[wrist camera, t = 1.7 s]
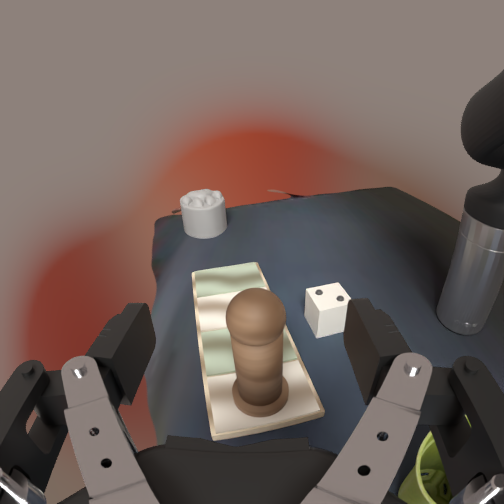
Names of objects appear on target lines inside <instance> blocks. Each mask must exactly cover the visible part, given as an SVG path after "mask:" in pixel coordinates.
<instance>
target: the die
mask: <svg viewBox="0 0 504 504" xmlns="http://www.w3.org/2000/svg"><path fill="white" fill-rule="evenodd" d="M350 299H351V298H350V297H349V296H348V294H347V293H346V292H345V291H344V289H343V288H342V287H341V285H340V284H339V283H333V284H328V285H323V286H318V287H313V288H308V289H306V297H305V313H304V316H305V318H306V320H307V322H308V323H309V325H310V327H311V329H312V331H313V333H314V335H315V336H316V338H320V337H324V336H328V335H332V334H336V333H340V332H343V331H344V327H345V320H346V313H347V305H348V301H349V300H350Z"/></svg>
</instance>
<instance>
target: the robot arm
mask: <svg viewBox="0 0 504 504" xmlns="http://www.w3.org/2000/svg"><path fill="white" fill-rule="evenodd" d="M461 138H462V142H463V145H464V148H465V150H466V151H467V153H468V154H469V155H470V157H472V159H474V160H476V161H477V162H479V163H481V164H484V165H488V166H491V167H496V168H499V169H501V172H500V174H499V176H498V177H497V178H496V179H494V180H493V181H491V182H488V183H486V184H482V185H478V186H474V187H472V188H470V189H469V190H468V192H467V194H466V198H465V204H464V209H463V214H462V219H461V223H460V228H459V233H458V237H457V241H456V245H455V249H454V253H453V257H452V260H451V264H450V268H449V271H448V274H447V278H446V281H445V284H444V287H443V290H442V293H441V296H440V299H439V302H438V305H437V308H436V313H437V316H438V318H439V320H440V321H441V323H442V324H443V325H444V326H445V327H447V328H448V329H450V330H451V331H453V332H456V333H459V334H462V335H473V334H476V333H478V332H480V331H481V329H482V328H483V326H484V324H485V322H486V319H487V317H488V315H489V313H490V311H491V309H492V306H493V304H494V302H495V299H496V297H497V295H498V292H499V290H500V287H501V284H502V282H503V279H504V70H503V71H502V72H501V73H500V74H499V75H498V76H497V77H495V78H494V79H493V80H492V81H490V82H489V83H488V84H487V85H485V86H484V87H483V88H481V90H479V91H478V92H477V93H476V94H475V95H474V96H473V97H472V98H471V99H470V101H469V102H468V104H467V106H466V108H465V111H464V113H463V117H462V122H461ZM155 344H156V337H155V332H154V328H153V324H152V319H151V315H150V311H149V307H148V305H147V304H146V303H128V304H127V306H126V307H125V308H124V310H123V312H122V313H121V314H117V315H116V316H114V317H113V318H112V319H110V320H109V321H108V322H107V324H106V325H105V327H104V328H103V330H102V331H101V332H100V334H99V336H98V337H97V338H96V340H95V341H94V343H93V344H92V346H91V347H90V349H89V350H88V352H87V353H86V355H85V356H78V357H75V358H72V359H70V360H69V361H67V362H66V363H65V365H64V366H63V368H62V370H56V371H46V370H45V368H44V366H43V364H42V363H41V362H40V361H37V360H30V361H26V362H24V363H22V364H21V365H19V366H18V367H17V368H16V370H15V371H14V372H13V374H12V375H11V377H10V378H9V380H8V381H7V382H6V384H5V385H4V387H3V388H2V390H1V391H0V504H46V498H45V496H44V492H45V489H46V486H47V484H48V481H49V478H50V475H51V473H52V470H53V468H54V465H55V462H56V460H57V457H58V455H59V452H60V450H61V447H62V445H63V442H64V440H65V438H66V435H67V433H68V431H69V434H70V438H71V442H72V445H73V448H74V452H75V455H76V459H77V462H78V465H79V468H80V471H81V474H82V477H83V480H84V482H85V485H86V487H84V488H82V489H81V490H79V491H78V492H76V493H74V494H73V495H71V496H69V497H68V498H66V499H64V500H63V501H61V502H59V503H57V504H408V503H406V502H405V501H403V500H402V499H400V498H399V497H397V496H396V495H394V494H393V493H391V492H390V491H388V489H389V487H390V485H391V483H392V481H393V479H394V477H395V475H396V473H397V471H398V469H399V467H400V464H401V462H402V460H403V458H404V455H405V453H406V451H407V448H408V446H409V444H410V441H411V439H412V436H413V434H414V431H415V428H416V426H417V425H429V427H430V430H431V433H432V435H433V438H434V441H435V444H436V446H437V449H438V452H439V455H440V458H441V461H442V464H443V467H444V470H445V473H446V476H447V479H448V482H449V486H450V489H451V492H452V496H453V498H452V499H451V501H450V502H449V504H504V394H503V392H502V391H501V389H500V387H499V386H498V384H497V383H496V381H495V380H494V378H493V377H492V375H491V373H490V372H489V370H488V369H487V367H486V366H485V365H484V363H482V362H481V361H480V360H478V359H477V358H474V357H470V356H463V357H460V358H458V359H456V361H455V362H454V364H453V367H452V368H441V367H432V365H431V363H430V361H429V360H428V359H427V358H425V357H424V356H422V355H420V354H417V353H412V351H411V350H410V348H409V347H408V345H407V343H406V342H405V340H404V338H403V337H402V335H401V334H400V332H398V329H397V327H396V326H395V325H394V322H393V321H392V319H391V318H390V316H389V315H387V314H386V313H385V312H383V311H382V310H380V309H379V310H375V309H374V307H373V305H372V304H371V302H370V301H369V299H368V298H363V299H350V300H349V301H348V305H347V313H346V320H345V327H344V345H345V348H346V351H347V354H348V356H349V359H350V362H351V365H352V368H353V370H354V373H355V376H356V379H357V382H358V385H359V388H360V391H361V394H362V396H363V399H364V402H365V405H369V406H368V408H367V409H366V411H365V413H364V415H363V416H362V418H361V420H360V421H359V423H358V425H357V426H356V428H355V430H354V431H353V433H352V435H351V436H350V438H349V439H348V441H347V443H346V444H345V446H344V447H343V449H342V450H341V452H340V453H339V455H337V454H335V453H332V452H330V451H327V450H324V449H320V448H316V447H309V442H308V437H305V438H291V439H272V440H268V441H264V442H259V443H255V444H250V445H245V446H240V447H233V446H228V445H224V444H220V443H216V442H212V441H209V440H205V439H201V438H190V437H179V436H170V435H168V436H167V440H166V444H165V445H158V446H153V447H150V448H147V449H144V450H142V451H140V452H138V450H137V448H136V446H135V444H134V442H133V440H132V439H131V436H130V434H129V432H128V430H127V428H126V426H125V424H124V422H123V419H122V417H121V415H120V413H119V411H118V408H119V406H120V404H124V405H131V404H132V402H133V399H134V397H135V394H136V392H137V389H138V387H139V385H140V382H141V380H142V377H143V375H144V372H145V370H146V368H147V365H148V363H149V361H150V358H151V356H152V353H153V351H154V349H155ZM33 409H34V411H35V412H36V414H37V415H38V416H37V418H36V420H35V422H34V424H33V425H32V427H31V429H30V431H29V433H28V434H27V432H26V422H27V420H28V418H29V416H30V415H31V412H32V411H33ZM465 414H466V416H467V418H468V420H469V422H470V425H471V427H470V425H469V422H468V420H467V418H466V416H465Z"/></svg>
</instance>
